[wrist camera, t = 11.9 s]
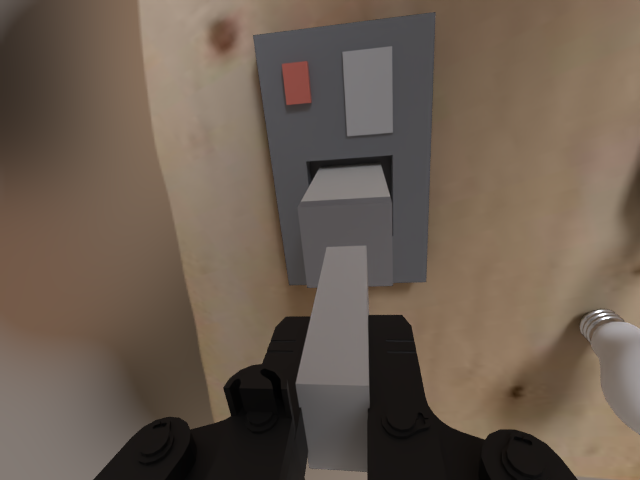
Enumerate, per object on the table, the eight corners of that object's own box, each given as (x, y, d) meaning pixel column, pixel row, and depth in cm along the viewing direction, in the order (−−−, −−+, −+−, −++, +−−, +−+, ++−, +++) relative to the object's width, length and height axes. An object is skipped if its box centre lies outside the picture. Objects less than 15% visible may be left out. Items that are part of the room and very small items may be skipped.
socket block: (261, 40, 23) (250, 33, 21) (429, 18, 22) (437, 10, 19) (293, 273, 30) (287, 288, 28) (421, 270, 28) (427, 285, 26)
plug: (320, 167, 26) (297, 207, 16) (380, 162, 25) (392, 202, 16) (324, 222, 27) (307, 287, 18) (381, 220, 27) (392, 285, 18)
